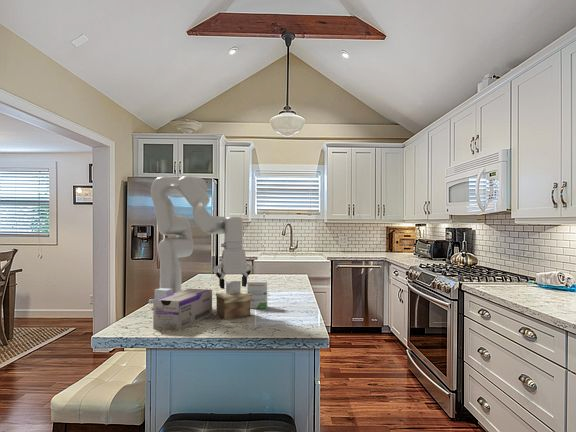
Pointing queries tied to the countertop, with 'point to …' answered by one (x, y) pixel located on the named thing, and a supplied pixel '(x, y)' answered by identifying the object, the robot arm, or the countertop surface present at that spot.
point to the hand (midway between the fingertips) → (233, 287)
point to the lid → (235, 297)
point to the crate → (232, 309)
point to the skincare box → (162, 292)
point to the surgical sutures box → (182, 309)
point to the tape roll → (233, 287)
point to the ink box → (258, 293)
